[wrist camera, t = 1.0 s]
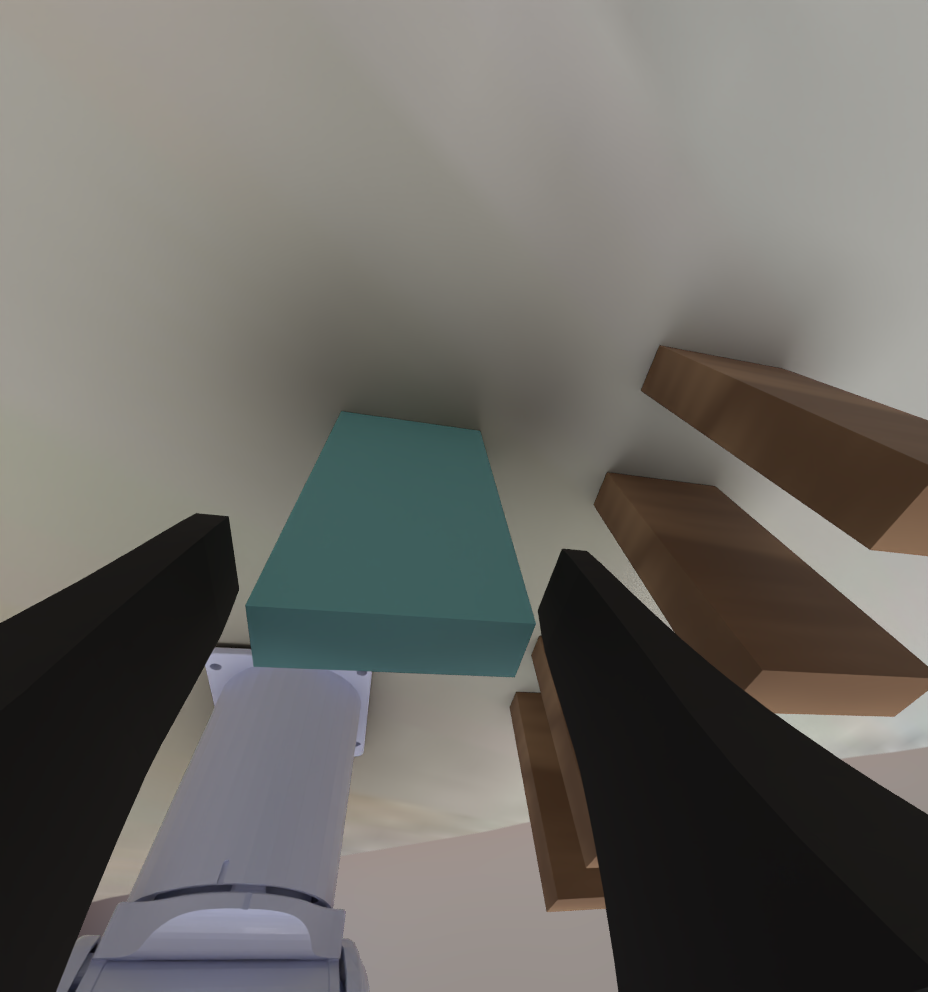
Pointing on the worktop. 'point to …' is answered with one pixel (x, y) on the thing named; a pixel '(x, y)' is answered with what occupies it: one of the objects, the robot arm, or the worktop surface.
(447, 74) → the worktop surface
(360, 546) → the teal domino
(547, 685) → the domino
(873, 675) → the domino
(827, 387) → the domino
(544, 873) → the brown wooden block
